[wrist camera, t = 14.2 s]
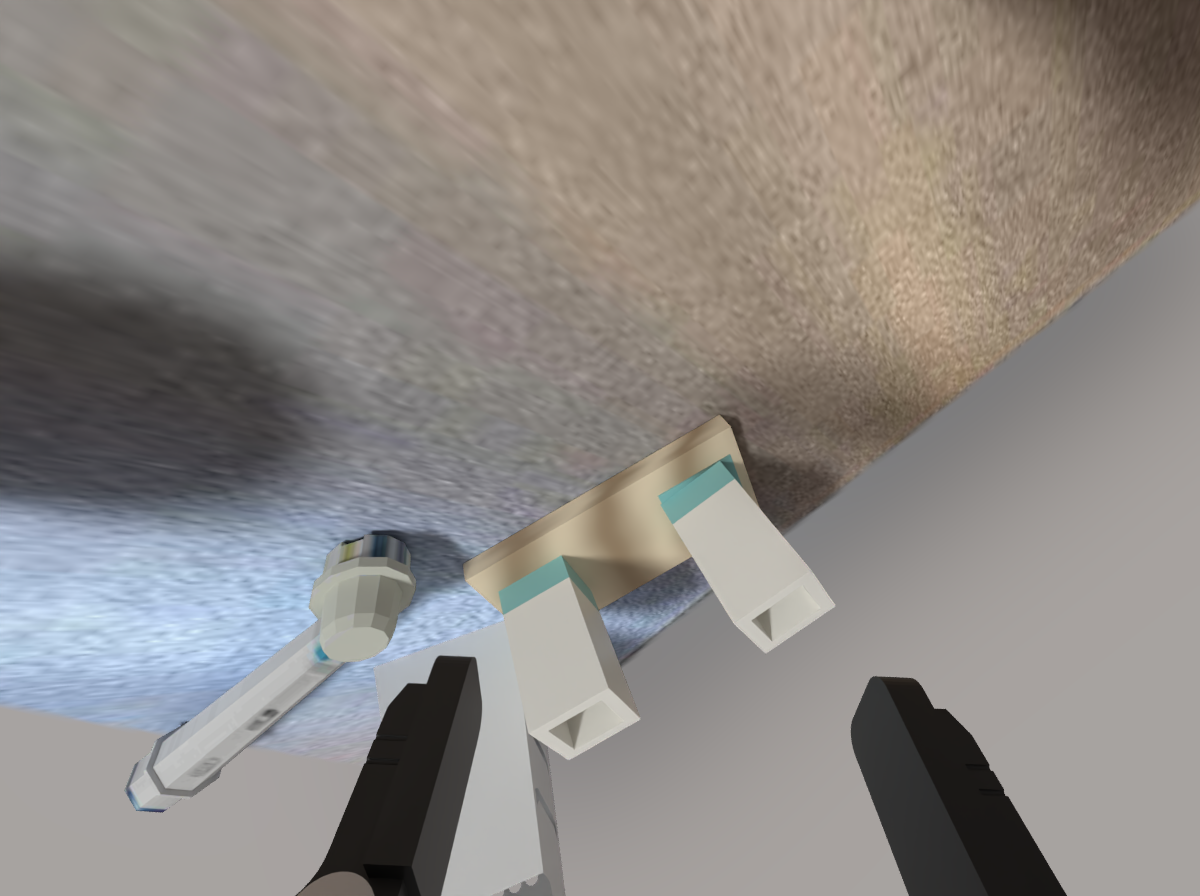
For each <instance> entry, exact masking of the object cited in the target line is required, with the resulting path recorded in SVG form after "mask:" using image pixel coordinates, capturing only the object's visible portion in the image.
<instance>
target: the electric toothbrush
mask: <svg viewBox="0 0 1200 896" xmlns="http://www.w3.org/2000/svg"><path fill="white" fill-rule="evenodd" d="M410 562H411V555H410V553H409V551H408V549H407V547H406V545H405V543H404V542H401V541H399V540H397V539H395V538H393V537H390V536H388V535H364V539H362V540H359V541H356V542H353V543H350V544H345V543H343V542H341V543H340V544H339V545H338V546H337V547H336V548H334V549H333V550H332V551H331V552H330V553H329V554H327V557H326V562H325V567H324V571H323V574H322V575H321V576H320V577H319V578H318V579H316V580H315V581H314V585H313V590H312V594H311V599H310V604H309V609H310V610H311V611H312V612H313V614H314V615H315V616H316V617H317V618H318V621H316V622H315V623H314V624H313V625H311V626H310V627H309V628H308V629H306V630H305V631H304V632H302V633H301V634H300V635H299V636H297V637H296V638H295V639H294V640H292V641H291V642H290V643H288V644H287V645H286V646H285V647H283V648H282V649H281V650H279V651H278V652H277V653H276V654H274V655H273V656H272V657H271V658H269V659H268V660H267V661H265V662H264V663H263V664H262V665H260V666H259V667H258V668H257V669H255V670H254V671H253V672H251V673H250V674H249V675H248V676H246V677H245V678H244V679H243V680H241V681H240V682H239V683H237V684H236V685H235V686H234V687H232V688H231V689H230V690H228V691H227V692H226V693H225V694H223V695H222V696H221V697H220V698H218V699H217V700H216V701H214V702H213V703H212V704H211V705H209V706H208V707H207V708H206V709H204V710H203V711H202V712H200V713H199V714H198V715H197V716H195V717H194V718H193V719H191V720H190V721H189V722H188V723H186V724H183V725H181V726H180V727H178V728H176V729H174V730H173V731H171V732H169V733H168V734H166V735H164V736H162V737H161V738H159V739H157V740H156V741H155V742H154V745H153V747H152V750H151V752H150V753H149V754H147V755H146V756H145V757H144V758H143V759H142V760H140V761H139V762H138V763H136V764H135V765H134V768H133V770H132V773H131V775H130V778H129V780H128V783H127V785H126V788H125V792H126V794H127V796H128V797H129V799H130V801H131V803H132V804H133V806H134V808H135V809H136V811H149V812H164V811H165V810H167V809H168V808H170V807H171V806H172V805H174V804H175V803H177V802H178V801H179V800H181V799H182V798H183V799H190V798H191V797H193V796H194V795H196V794H197V793H198V792H200V791H201V790H202V789H204V788H205V787H207V786H208V785H209V784H211V783H212V782H214V781H215V780H216V779H218V778H219V776H220V772H221V769H222V768H223V767H224V766H225V765H226V764H228V763H229V762H230V761H231V760H232V759H233V758H235V757H236V756H237V755H238V754H239V753H240V752H242V751H243V750H244V749H245V748H246V747H247V746H249V745H250V744H251V743H252V742H253V741H254V740H256V739H257V738H258V737H259V736H260V735H261V734H263V733H264V732H265V731H266V730H267V729H268V728H270V727H271V726H272V725H273V724H274V723H275V722H277V721H278V720H279V719H280V718H281V717H282V716H284V715H285V714H286V713H287V712H288V711H289V710H291V709H292V708H293V707H294V706H295V705H296V704H298V703H299V702H300V701H301V700H302V699H303V698H305V697H306V696H307V695H308V694H309V693H310V692H312V691H313V690H314V689H315V688H316V687H317V686H319V685H320V684H321V683H322V682H323V681H324V680H326V679H327V678H328V677H329V676H330V675H331V674H333V673H334V672H335V671H336V670H337V669H338V668H340V667H341V666H342V665H343V664H344V663H345V662H356V661H362V660H365V659H368V658H371V657H374V656H376V655H377V654H379V653H380V652H381V651H383V650H384V649H385V648H386V647H387V645H388V644H389V642H390V640H391V638H392V636H393V633H394V631H395V628H396V623H397V618H398V614H399V613H400V612H402V611H403V610H404V609H406V608H407V607H408V606H409V605H410V603H411V600H412V598H413V595H414V593H415V590H416V579H415V577H414V576H413V574H412V572H411V570H410Z"/></svg>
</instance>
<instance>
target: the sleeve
mask: <svg viewBox="0 0 1200 896" xmlns="http://www.w3.org/2000/svg"><path fill="white" fill-rule="evenodd" d="M661 507H662V508H663V510H664V512H665V513H666V515H667V516H668V518H669V520H670V521H671V523H672V525H673V526H674V528H675V529H676V531H677V533H678V534H679V536H680V537H681V539H682V541H683V542H684V544H685V546H686V547H687V549H688V550H689V552H690V554H691V555H692V557H693V558H694V560H695V562H696V563H697V565H698V567H699V568H700V570H701V571H702V573H703V575H704V576H705V578H706V580H707V581H708V583H709V584H710V586H711V588H712V589H713V591H714V592H715V594H716V596H717V597H718V599H719V600H720V602H721V604H722V605H723V607H724V609H725V610H726V612H727V613H728V615H729V617H730V618H731V620H732V622H733V623H734V624H735V625H736V626H737V627H738V628H739V629H740V630H741V631H742V632H743V633H744V634H745V635H747V637H749V638H750V639H751V640H752V641H753V642H754V643H755V644H756V645H757V646H758V647H759V648H760V649H761V650H762V651H763V652H764V653H767V652H769V651H770V650H771V649H773V648H775V647H776V646H778V645H779V644H781V643H782V642H783V641H785V640H786V639H788V638H789V637H791V636H792V635H794V634H795V633H797V632H798V631H800V630H801V629H803V628H804V627H806V626H807V625H808V624H810V623H811V622H813V621H814V620H816V619H817V618H819V617H820V616H822V615H823V614H825V613H826V612H828V611H829V610H830V609H832V608H834V607H835V606H836V605H835V604H834V603H833V601H832V600H831V598H830V597H829V595H828V594H827V593H826V591H825V590H824V588H823V587H822V586H821V584H820V582H819V581H818V579H817V578H816V576H815V575H814V574H813V572H812V571H811V569H810V568H809V567H808V566H807V565H806V563H805V562H804V561H803V560H802V559H801V558H800V556H799V555H798V554H797V553H796V551H795V550H794V549H793V548H792V547H791V546H790V544H789V543H788V542H787V541H786V539H785V538H784V537H783V536H782V535H781V533H780V532H779V531H778V530H777V529H776V527H775V526H774V525H773V524H772V523H771V521H770V520H769V519H768V518H767V517H766V515H765V514H764V513H763V512H762V511H761V509H760V508H759V507H758V506H757V505H756V503H755V502H754V501H753V500H752V499H751V497H750V496H749V495H748V494H747V493H746V492H745V490H744V489H743V488H742V487H741V486H740V484H739V483H738V482H737V481H736V480H735V478H734V477H733V476H732V475H731V474H730V472H729V471H728V470H727V469H726V468H725V466H724V465H723V464H722V463H721V462H720V461H719V462H717V463H716V464H715V465H713V466H712V467H711V468H709V469H708V470H707V471H705V472H704V473H703V474H701V475H700V476H699V477H697V478H696V479H695V480H693V481H692V482H691V483H689V484H688V485H687V486H685V487H684V488H683V489H681V490H680V491H678V492H677V493H676V494H674V495H673V496H672V497H670V498H669V499H668V500H666V501H665V502H664V503H662V504H661Z"/></svg>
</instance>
